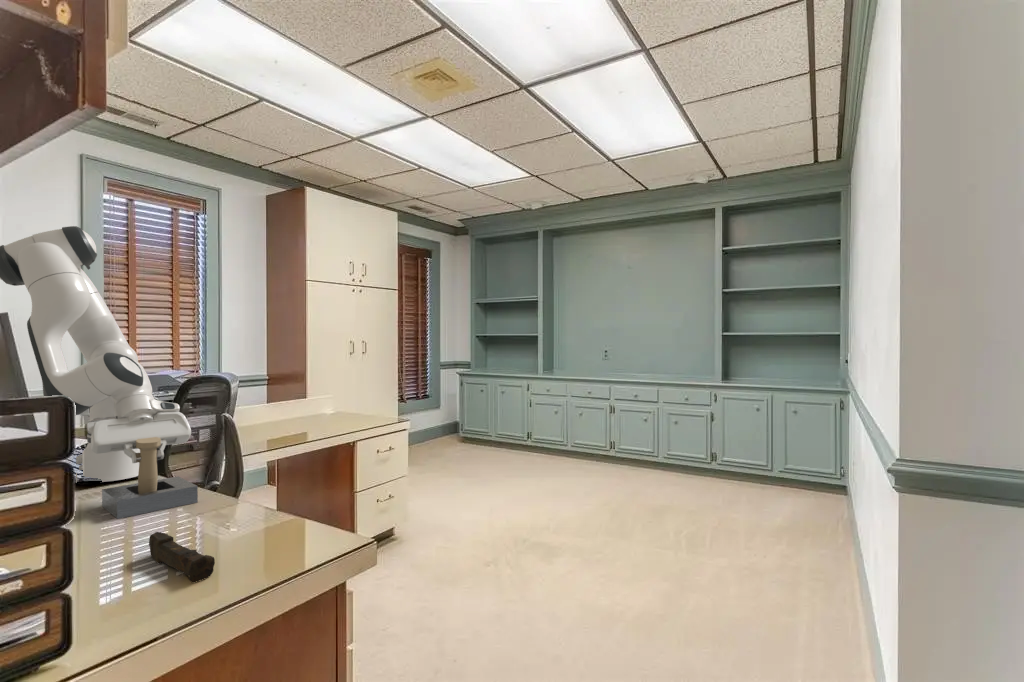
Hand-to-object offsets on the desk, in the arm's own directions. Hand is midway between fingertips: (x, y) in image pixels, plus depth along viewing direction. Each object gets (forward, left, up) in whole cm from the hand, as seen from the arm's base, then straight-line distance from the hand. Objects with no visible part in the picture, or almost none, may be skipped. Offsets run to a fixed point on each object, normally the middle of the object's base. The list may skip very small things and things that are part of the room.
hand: (148, 459), depth 127 cm
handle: (-1, 0, -10) cm, 10 cm away
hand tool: (+45, -8, -11) cm, 47 cm away
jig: (-1, 0, -11) cm, 11 cm away
